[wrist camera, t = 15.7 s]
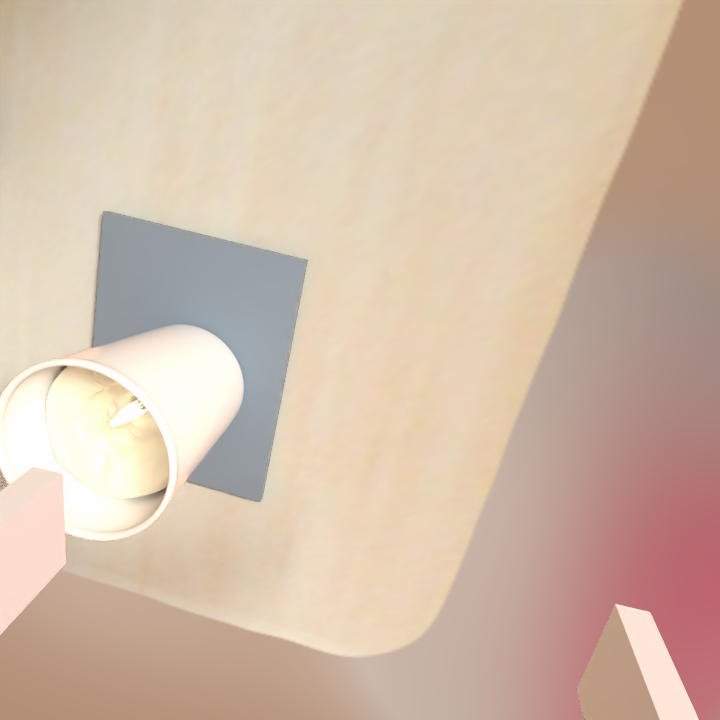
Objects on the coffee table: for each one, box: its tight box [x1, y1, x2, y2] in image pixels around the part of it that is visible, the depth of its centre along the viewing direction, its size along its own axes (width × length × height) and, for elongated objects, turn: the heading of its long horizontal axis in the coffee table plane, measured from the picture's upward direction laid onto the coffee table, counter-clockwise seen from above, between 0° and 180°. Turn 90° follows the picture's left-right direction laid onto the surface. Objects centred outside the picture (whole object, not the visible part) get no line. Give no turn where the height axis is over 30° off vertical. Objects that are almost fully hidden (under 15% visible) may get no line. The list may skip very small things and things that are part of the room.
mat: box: [93, 211, 308, 502], centre depth 39 cm, size 18×14×1 cm
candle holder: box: [0, 324, 244, 541], centre depth 33 cm, size 10×10×12 cm
